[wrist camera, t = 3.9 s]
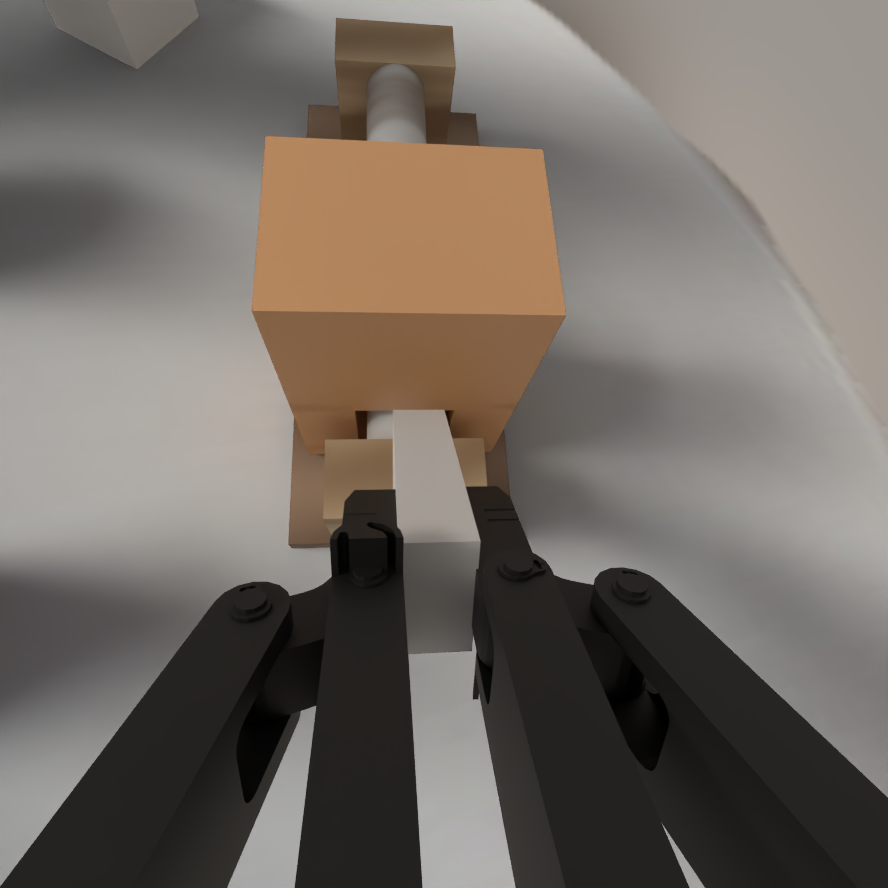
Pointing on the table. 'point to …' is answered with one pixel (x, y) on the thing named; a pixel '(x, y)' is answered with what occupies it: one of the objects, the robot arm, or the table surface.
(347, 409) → the wooden block
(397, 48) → the pipe stand
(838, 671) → the table surface
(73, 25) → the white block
